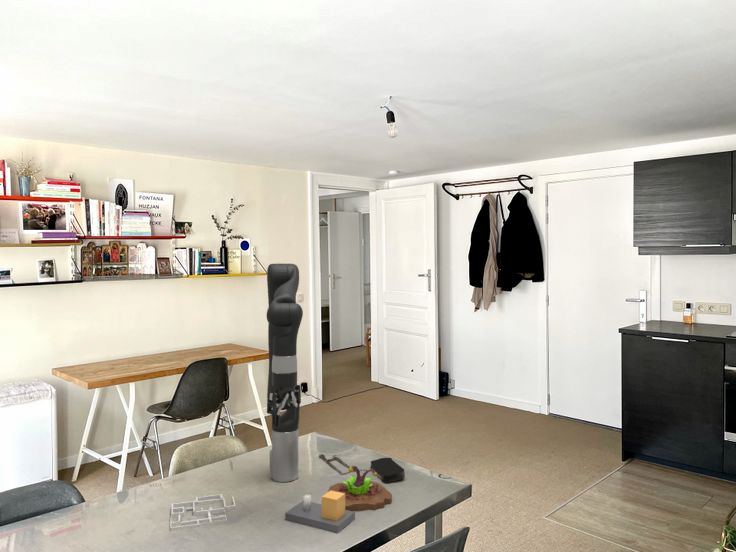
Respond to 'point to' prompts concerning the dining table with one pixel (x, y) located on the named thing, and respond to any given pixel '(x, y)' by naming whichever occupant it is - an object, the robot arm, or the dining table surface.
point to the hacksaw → (333, 465)
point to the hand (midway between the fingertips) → (284, 423)
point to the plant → (362, 492)
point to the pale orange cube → (333, 505)
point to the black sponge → (387, 469)
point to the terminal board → (317, 516)
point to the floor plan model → (200, 512)
